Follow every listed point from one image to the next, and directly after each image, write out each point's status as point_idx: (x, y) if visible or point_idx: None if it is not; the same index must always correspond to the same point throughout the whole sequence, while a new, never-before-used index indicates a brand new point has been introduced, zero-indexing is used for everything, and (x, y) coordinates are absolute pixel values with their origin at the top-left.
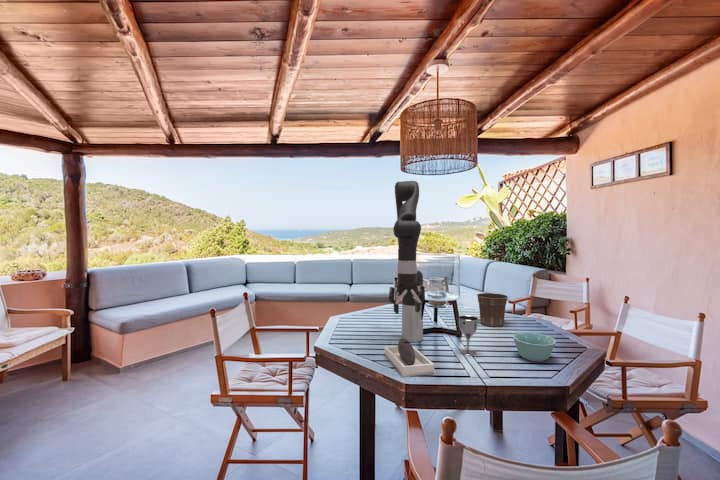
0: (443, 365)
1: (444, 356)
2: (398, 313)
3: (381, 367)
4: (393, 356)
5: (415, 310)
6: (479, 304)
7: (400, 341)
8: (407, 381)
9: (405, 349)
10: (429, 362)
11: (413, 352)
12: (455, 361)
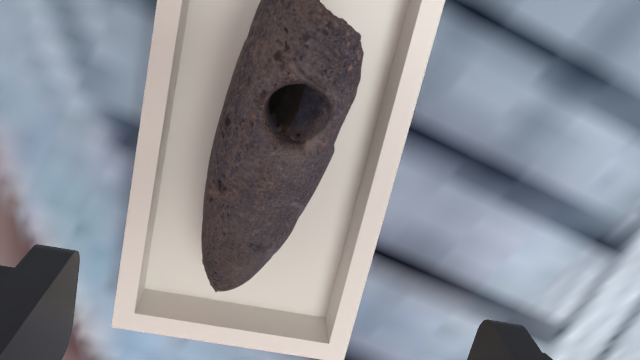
0: (482, 249)
1: (616, 121)
2: (67, 342)
3: (50, 96)
4: (142, 118)
5: (488, 330)
6: None
7: (274, 29)
8: (121, 348)
9: (215, 211)
10: (335, 326)
11: (261, 262)
12: (604, 228)
